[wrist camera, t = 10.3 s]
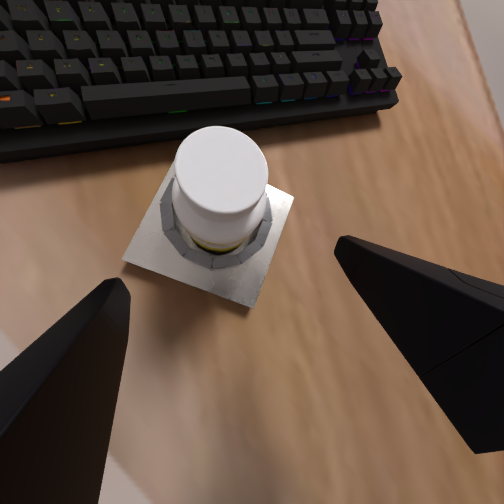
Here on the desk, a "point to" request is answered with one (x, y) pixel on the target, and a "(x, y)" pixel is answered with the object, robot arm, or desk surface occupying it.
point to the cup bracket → (199, 261)
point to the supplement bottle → (219, 187)
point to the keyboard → (181, 69)
